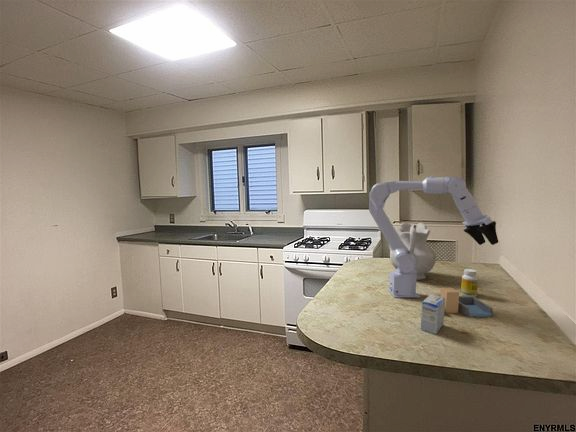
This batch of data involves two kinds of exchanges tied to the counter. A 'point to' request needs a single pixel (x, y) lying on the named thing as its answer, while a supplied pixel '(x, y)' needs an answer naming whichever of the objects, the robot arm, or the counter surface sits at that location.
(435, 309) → the medicine box
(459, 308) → the blue shallow tray
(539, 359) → the counter surface
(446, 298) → the tan rectangular block
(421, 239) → the ceramic pitcher
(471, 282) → the supplement bottle
